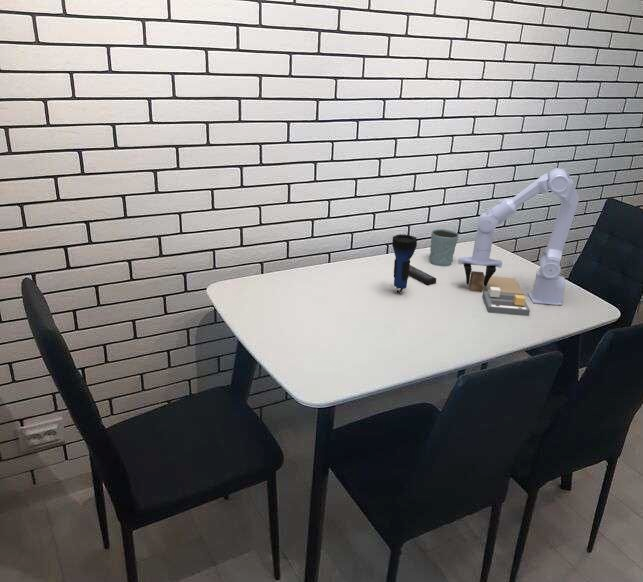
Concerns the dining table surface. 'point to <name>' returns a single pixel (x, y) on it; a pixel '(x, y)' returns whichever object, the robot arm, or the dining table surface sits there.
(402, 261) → the flashlight
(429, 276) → the multiport hub
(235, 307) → the dining table surface
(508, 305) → the switch panel
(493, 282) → the mat
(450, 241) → the green cup
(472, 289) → the block
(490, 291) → the switch tab
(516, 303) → the switch tab
